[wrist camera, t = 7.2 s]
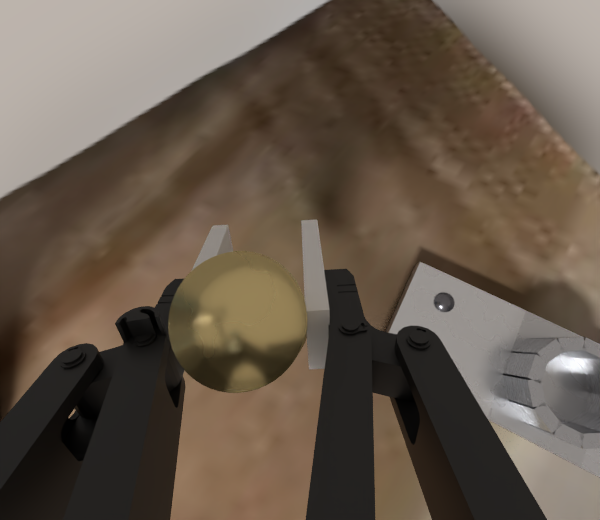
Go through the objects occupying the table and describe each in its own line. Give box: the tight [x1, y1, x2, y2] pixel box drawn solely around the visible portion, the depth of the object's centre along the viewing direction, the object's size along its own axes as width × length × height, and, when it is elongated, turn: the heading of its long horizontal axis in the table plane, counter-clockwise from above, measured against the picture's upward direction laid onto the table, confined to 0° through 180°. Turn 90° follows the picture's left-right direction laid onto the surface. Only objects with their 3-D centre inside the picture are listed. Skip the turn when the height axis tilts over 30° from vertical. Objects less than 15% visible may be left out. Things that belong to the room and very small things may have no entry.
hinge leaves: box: [385, 262, 600, 478], centre depth 24 cm, size 25×9×4 cm, turn 63°
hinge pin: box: [168, 251, 307, 393], centre depth 14 cm, size 4×4×11 cm
